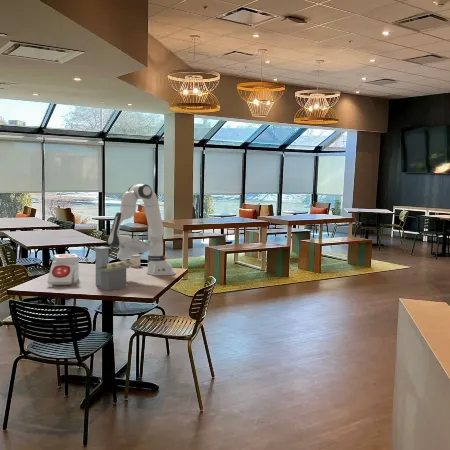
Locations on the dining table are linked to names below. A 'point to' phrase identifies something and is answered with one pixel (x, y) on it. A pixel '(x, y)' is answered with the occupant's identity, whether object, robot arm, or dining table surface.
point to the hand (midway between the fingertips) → (144, 239)
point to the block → (120, 263)
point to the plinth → (101, 261)
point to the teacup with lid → (135, 260)
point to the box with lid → (113, 277)
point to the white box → (64, 269)
